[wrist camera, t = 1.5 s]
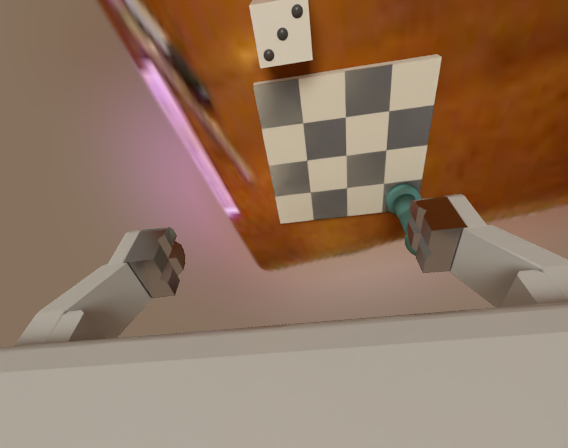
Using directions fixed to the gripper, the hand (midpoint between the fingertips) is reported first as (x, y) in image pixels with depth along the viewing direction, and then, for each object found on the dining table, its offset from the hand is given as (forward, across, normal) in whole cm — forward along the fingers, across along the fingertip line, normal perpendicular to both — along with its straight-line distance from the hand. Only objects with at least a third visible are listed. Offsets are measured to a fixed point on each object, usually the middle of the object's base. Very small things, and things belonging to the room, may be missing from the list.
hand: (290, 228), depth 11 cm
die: (+29, 0, -2) cm, 29 cm away
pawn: (+28, -14, +20) cm, 37 cm away
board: (+29, -6, +13) cm, 32 cm away
